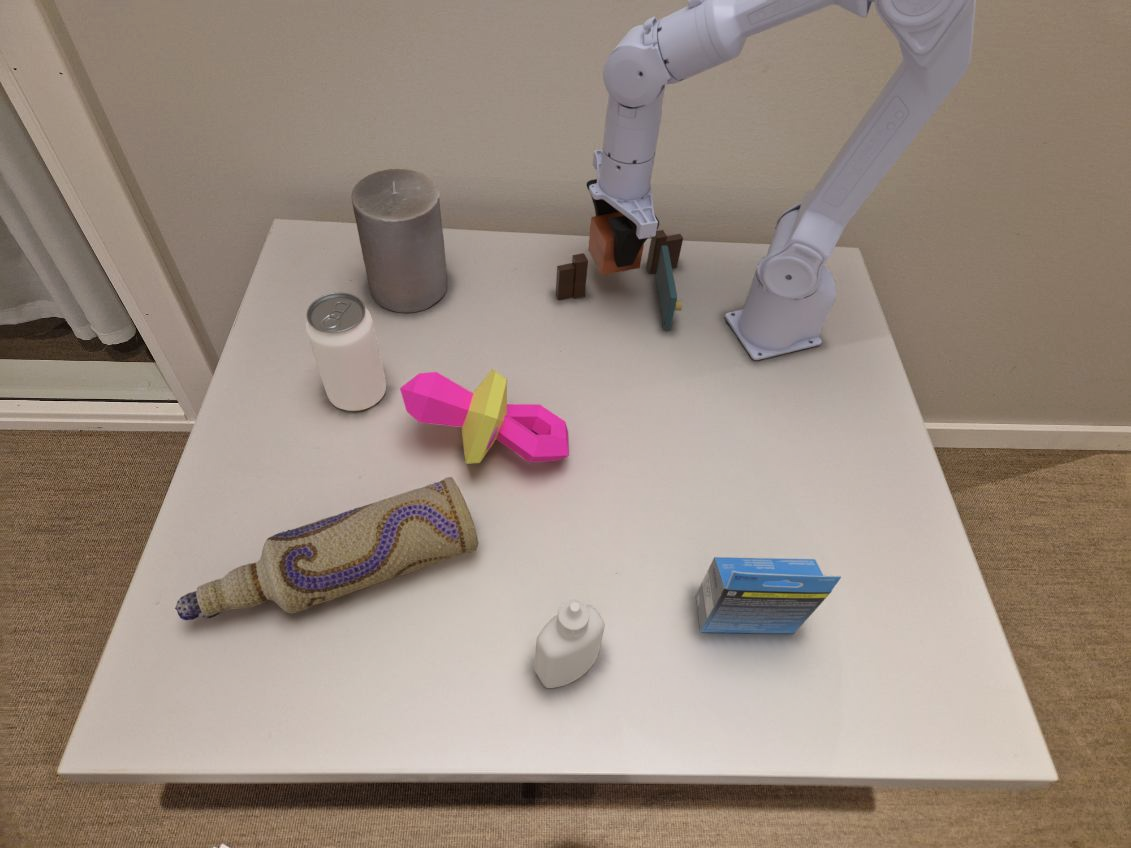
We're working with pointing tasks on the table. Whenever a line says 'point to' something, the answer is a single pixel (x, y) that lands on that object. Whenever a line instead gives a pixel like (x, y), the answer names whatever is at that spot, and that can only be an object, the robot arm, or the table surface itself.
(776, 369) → the table surface
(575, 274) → the gate
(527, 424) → the toy
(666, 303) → the gate door
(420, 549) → the decorative bottle
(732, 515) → the table surface
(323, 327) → the can
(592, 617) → the eye dropper bottle
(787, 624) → the label tape box
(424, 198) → the pillar candle
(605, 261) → the block
